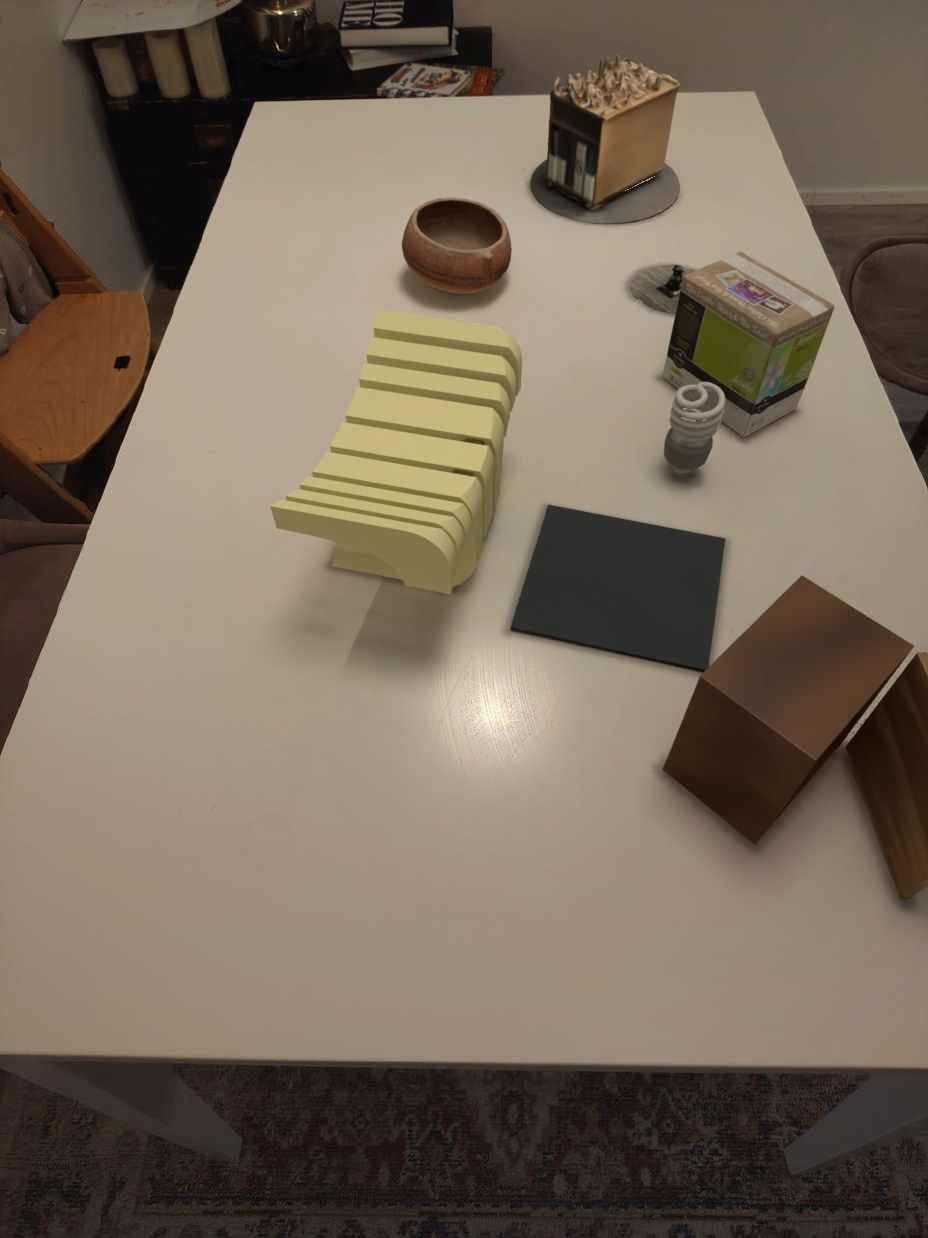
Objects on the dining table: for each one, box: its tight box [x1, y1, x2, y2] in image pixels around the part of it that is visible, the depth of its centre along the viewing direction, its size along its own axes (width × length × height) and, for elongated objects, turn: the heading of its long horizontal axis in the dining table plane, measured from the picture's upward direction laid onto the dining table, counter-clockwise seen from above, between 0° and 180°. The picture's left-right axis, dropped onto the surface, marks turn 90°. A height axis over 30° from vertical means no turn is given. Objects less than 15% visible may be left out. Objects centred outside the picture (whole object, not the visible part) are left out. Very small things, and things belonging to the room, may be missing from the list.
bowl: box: [401, 197, 513, 295], centre depth 119 cm, size 16×16×10 cm
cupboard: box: [662, 575, 915, 846], centre depth 69 cm, size 10×14×16 cm
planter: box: [530, 54, 681, 224], centre depth 132 cm, size 25×25×19 cm
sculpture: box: [629, 264, 697, 315], centre depth 121 cm, size 12×9×8 cm
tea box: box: [662, 251, 835, 438], centre depth 101 cm, size 15×10×15 cm, turn 34°
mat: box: [509, 504, 726, 673], centre depth 88 cm, size 20×18×1 cm
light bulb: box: [663, 382, 725, 474], centre depth 93 cm, size 6×6×12 cm
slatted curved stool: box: [269, 308, 523, 596], centre depth 86 cm, size 30×16×18 cm, turn 166°
